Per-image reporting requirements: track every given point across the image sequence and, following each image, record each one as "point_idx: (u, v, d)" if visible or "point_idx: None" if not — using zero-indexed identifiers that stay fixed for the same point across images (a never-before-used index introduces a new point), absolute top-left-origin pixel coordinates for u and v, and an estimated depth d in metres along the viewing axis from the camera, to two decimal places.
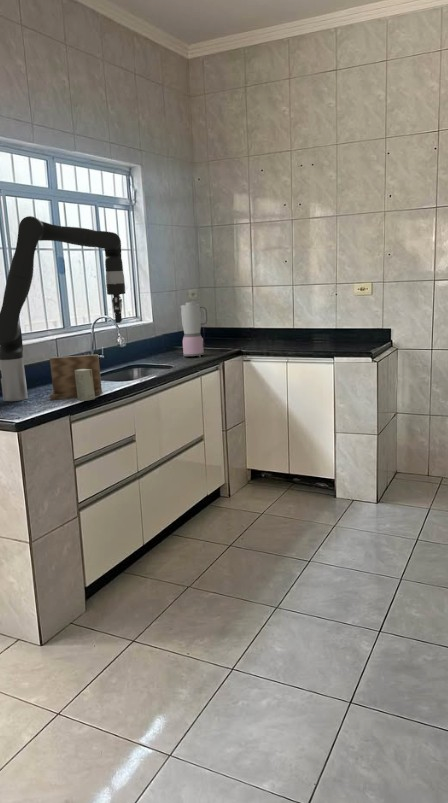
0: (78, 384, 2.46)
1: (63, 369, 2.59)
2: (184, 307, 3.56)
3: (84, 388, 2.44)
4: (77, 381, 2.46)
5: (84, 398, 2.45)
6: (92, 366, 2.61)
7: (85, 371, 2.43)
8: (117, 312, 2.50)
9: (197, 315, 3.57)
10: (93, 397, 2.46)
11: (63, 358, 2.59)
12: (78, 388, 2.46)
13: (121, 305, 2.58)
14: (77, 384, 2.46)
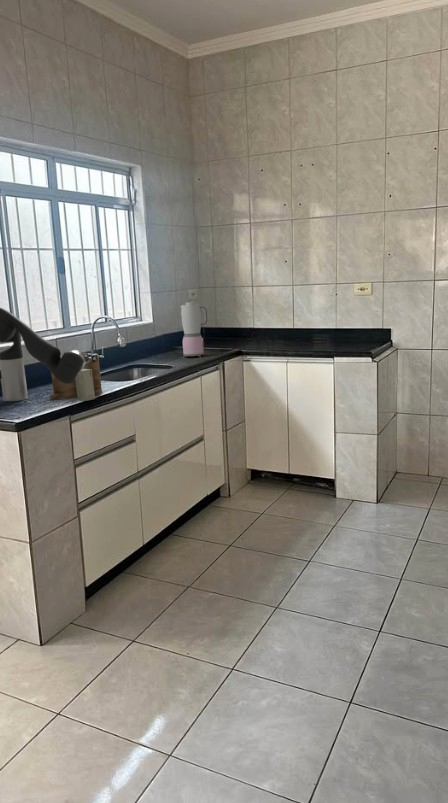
0: (78, 384, 2.46)
1: None
2: (184, 307, 3.56)
3: (84, 388, 2.44)
4: (77, 381, 2.46)
5: (84, 398, 2.45)
6: (92, 366, 2.61)
7: (85, 371, 2.43)
8: None
9: (197, 315, 3.57)
10: (93, 397, 2.46)
11: None
12: (78, 388, 2.46)
13: None
14: (77, 384, 2.46)
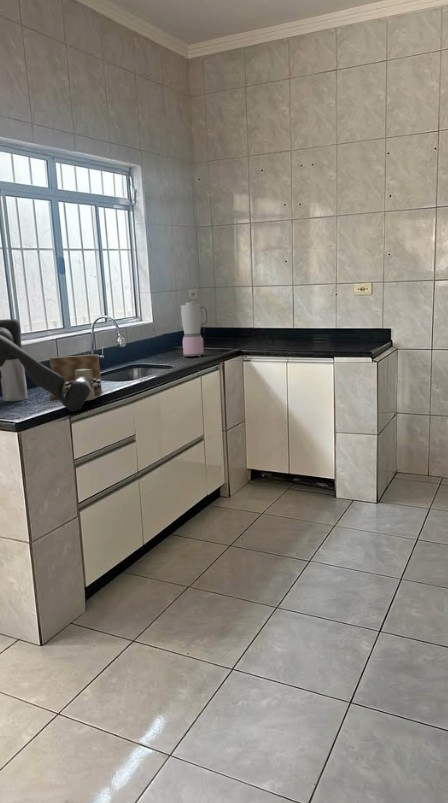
0: None
1: (63, 369, 2.59)
2: (184, 307, 3.56)
3: None
4: None
5: None
6: (92, 366, 2.61)
7: (85, 371, 2.43)
8: None
9: (197, 315, 3.57)
10: (93, 397, 2.46)
11: (63, 358, 2.59)
12: None
13: None
14: None
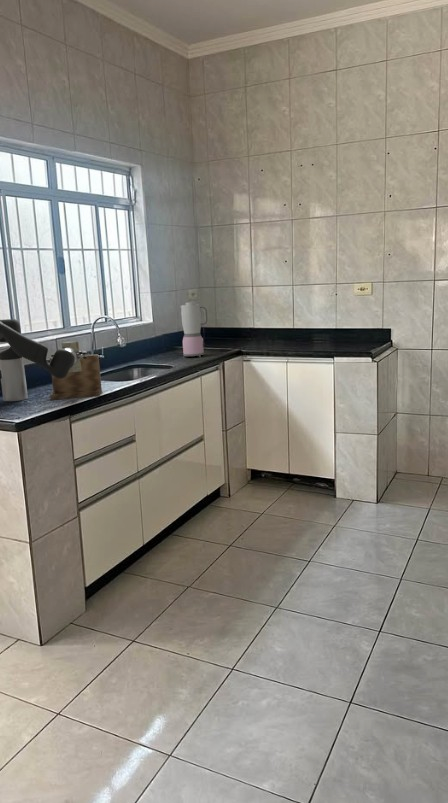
0: None
1: None
2: (184, 307, 3.56)
3: None
4: None
5: (71, 370, 2.50)
6: (92, 366, 2.61)
7: (72, 343, 2.48)
8: None
9: (197, 315, 3.57)
10: (79, 369, 2.51)
11: None
12: None
13: None
14: None
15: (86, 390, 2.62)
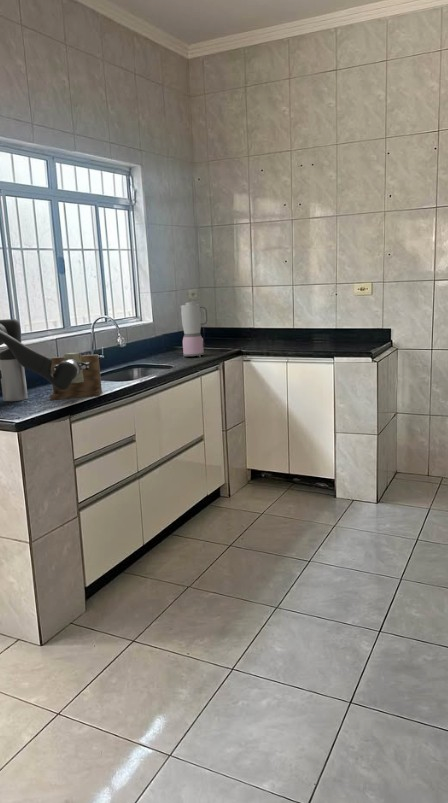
0: None
1: None
2: (184, 307, 3.56)
3: None
4: None
5: (73, 380, 2.54)
6: (92, 366, 2.61)
7: (74, 354, 2.52)
8: None
9: (197, 315, 3.57)
10: (82, 380, 2.55)
11: (63, 358, 2.59)
12: None
13: None
14: None
15: (86, 390, 2.62)
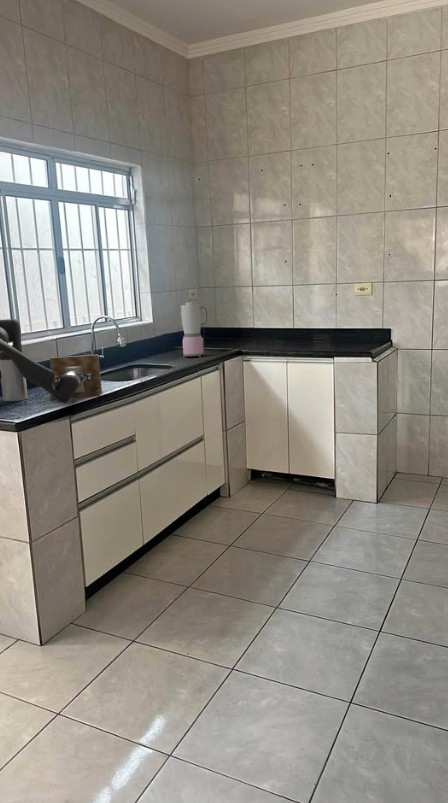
0: None
1: (63, 369, 2.59)
2: (184, 307, 3.56)
3: None
4: None
5: None
6: (92, 366, 2.61)
7: (75, 368, 2.53)
8: None
9: (197, 315, 3.57)
10: None
11: (63, 358, 2.59)
12: None
13: None
14: None
15: (86, 390, 2.62)
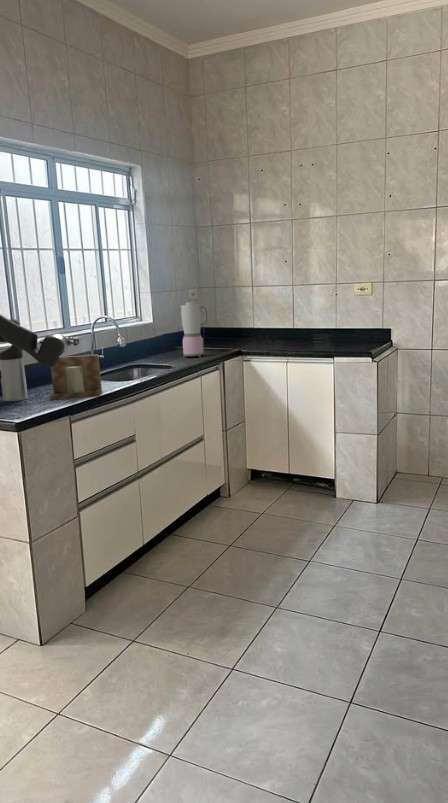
0: (68, 381, 2.56)
1: (63, 369, 2.59)
2: (184, 307, 3.56)
3: (74, 385, 2.54)
4: (67, 378, 2.56)
5: None
6: (92, 366, 2.61)
7: (75, 368, 2.53)
8: None
9: (197, 315, 3.57)
10: None
11: (63, 358, 2.59)
12: (68, 384, 2.57)
13: None
14: (68, 381, 2.57)
15: (86, 390, 2.62)
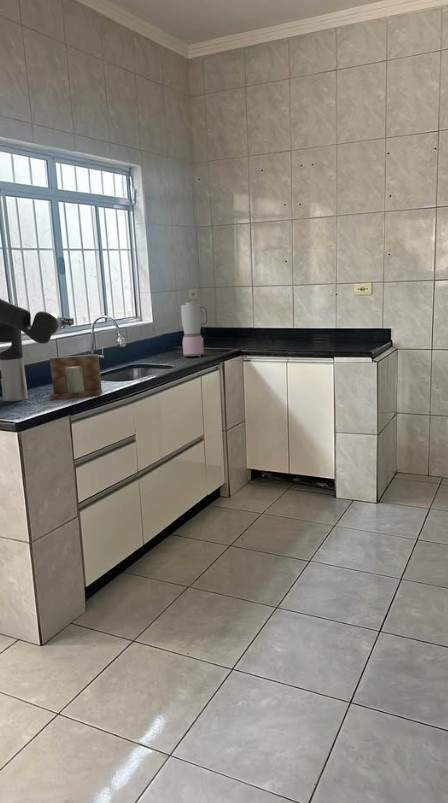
0: (68, 381, 2.56)
1: (63, 369, 2.59)
2: (184, 307, 3.56)
3: (74, 385, 2.54)
4: (67, 378, 2.56)
5: None
6: (92, 366, 2.61)
7: (75, 368, 2.53)
8: None
9: (197, 315, 3.57)
10: None
11: (63, 358, 2.59)
12: (68, 385, 2.57)
13: None
14: (67, 381, 2.57)
15: (86, 390, 2.62)
